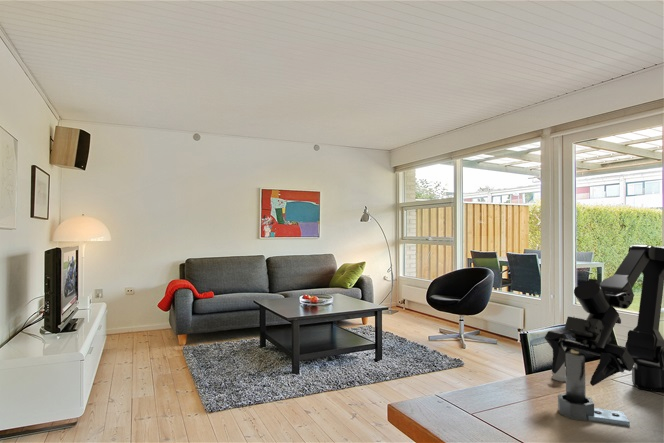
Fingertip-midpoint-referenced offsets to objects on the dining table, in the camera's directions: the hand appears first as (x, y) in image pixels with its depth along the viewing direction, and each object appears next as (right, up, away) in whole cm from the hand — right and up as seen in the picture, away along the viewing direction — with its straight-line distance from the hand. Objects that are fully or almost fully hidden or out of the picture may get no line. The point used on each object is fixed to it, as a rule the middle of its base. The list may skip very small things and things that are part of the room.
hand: (571, 378), depth 99 cm
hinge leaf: (+4, -9, -1) cm, 10 cm away
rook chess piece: (+10, -9, +24) cm, 27 cm away
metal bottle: (+1, -8, 0) cm, 8 cm away
